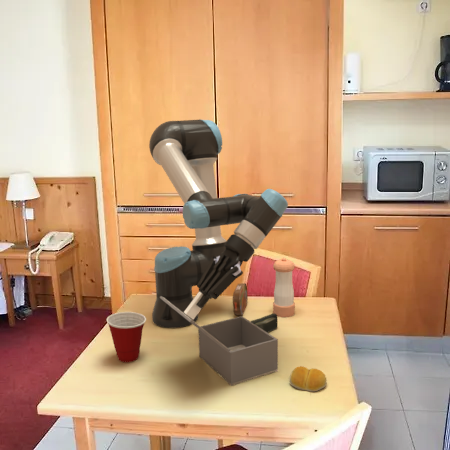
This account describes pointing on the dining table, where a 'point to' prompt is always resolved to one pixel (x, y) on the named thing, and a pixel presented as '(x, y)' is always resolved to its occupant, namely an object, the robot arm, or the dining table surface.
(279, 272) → the salt shaker
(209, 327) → the box
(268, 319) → the black elongated piece
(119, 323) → the plastic cup
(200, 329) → the box lid
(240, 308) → the tin
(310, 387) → the bread roll
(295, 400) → the dining table surface
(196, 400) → the dining table surface
